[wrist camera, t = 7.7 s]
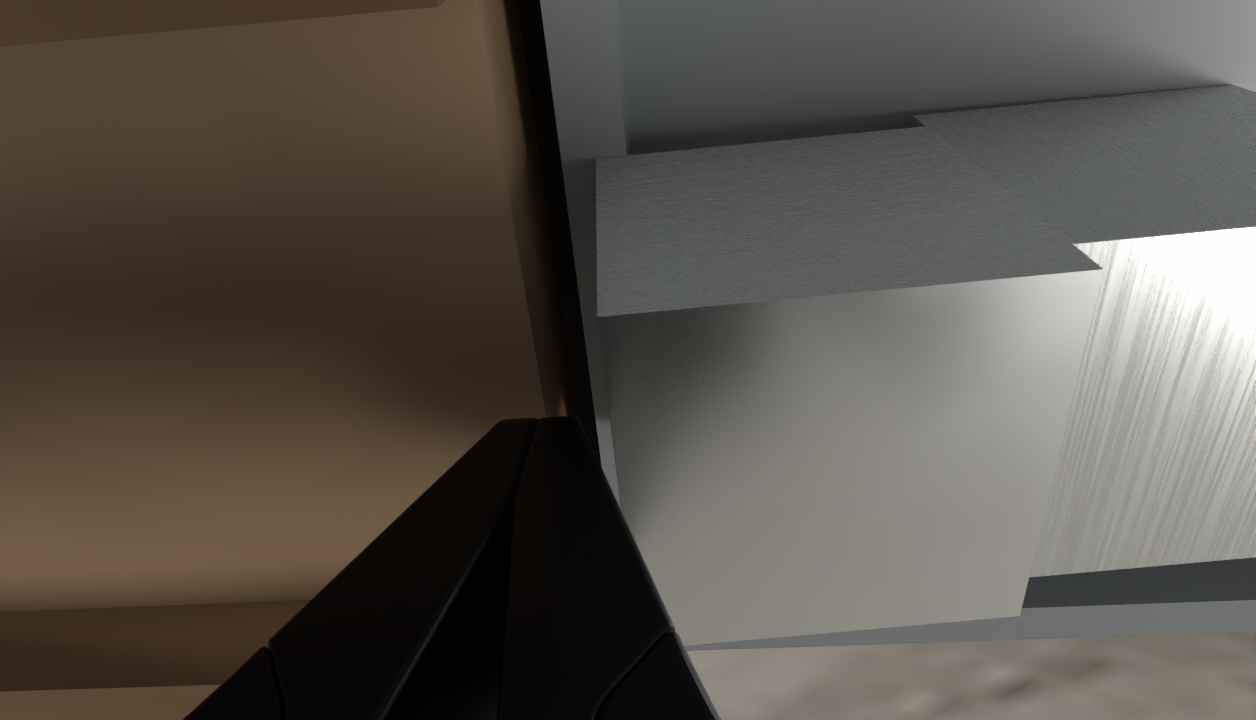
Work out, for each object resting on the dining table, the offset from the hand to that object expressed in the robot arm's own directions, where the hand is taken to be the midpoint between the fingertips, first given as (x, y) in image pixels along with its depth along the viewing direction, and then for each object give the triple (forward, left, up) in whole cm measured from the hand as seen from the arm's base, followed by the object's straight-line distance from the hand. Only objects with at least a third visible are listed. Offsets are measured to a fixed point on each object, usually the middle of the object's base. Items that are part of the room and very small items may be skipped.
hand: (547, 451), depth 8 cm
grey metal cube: (0, -5, -2) cm, 5 cm away
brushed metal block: (0, -3, -3) cm, 4 cm away
